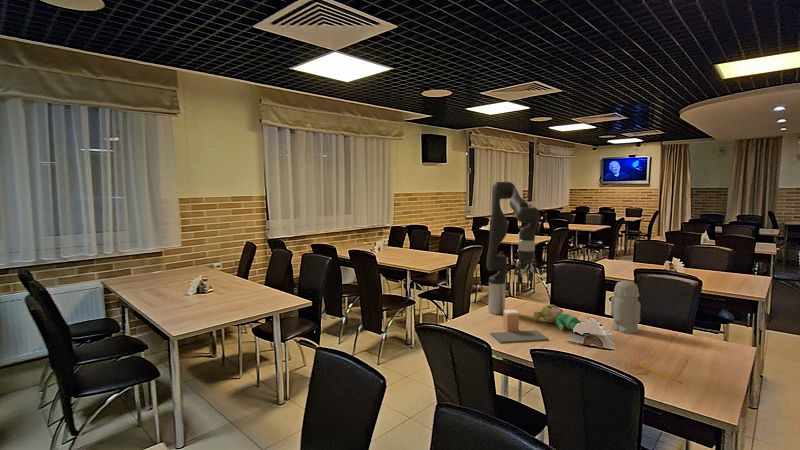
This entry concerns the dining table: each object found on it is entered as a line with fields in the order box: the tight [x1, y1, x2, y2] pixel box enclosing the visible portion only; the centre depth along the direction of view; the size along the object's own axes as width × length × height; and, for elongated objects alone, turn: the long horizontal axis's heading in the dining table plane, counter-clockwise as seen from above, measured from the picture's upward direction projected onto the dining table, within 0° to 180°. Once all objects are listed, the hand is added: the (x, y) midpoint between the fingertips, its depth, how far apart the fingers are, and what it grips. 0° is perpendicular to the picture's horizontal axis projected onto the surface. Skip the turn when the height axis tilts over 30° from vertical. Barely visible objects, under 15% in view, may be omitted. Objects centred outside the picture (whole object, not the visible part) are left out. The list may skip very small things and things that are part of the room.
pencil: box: [635, 363, 681, 382], centre depth 165 cm, size 1×19×1 cm, turn 22°
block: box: [502, 309, 520, 332], centre depth 213 cm, size 5×6×10 cm
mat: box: [490, 329, 549, 344], centre depth 204 cm, size 12×24×1 cm, turn 99°
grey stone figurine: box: [610, 280, 642, 335], centre depth 213 cm, size 15×10×25 cm
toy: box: [533, 304, 582, 332], centre depth 219 cm, size 17×10×30 cm
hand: (525, 282), depth 205 cm, fingers open, 8 cm apart
